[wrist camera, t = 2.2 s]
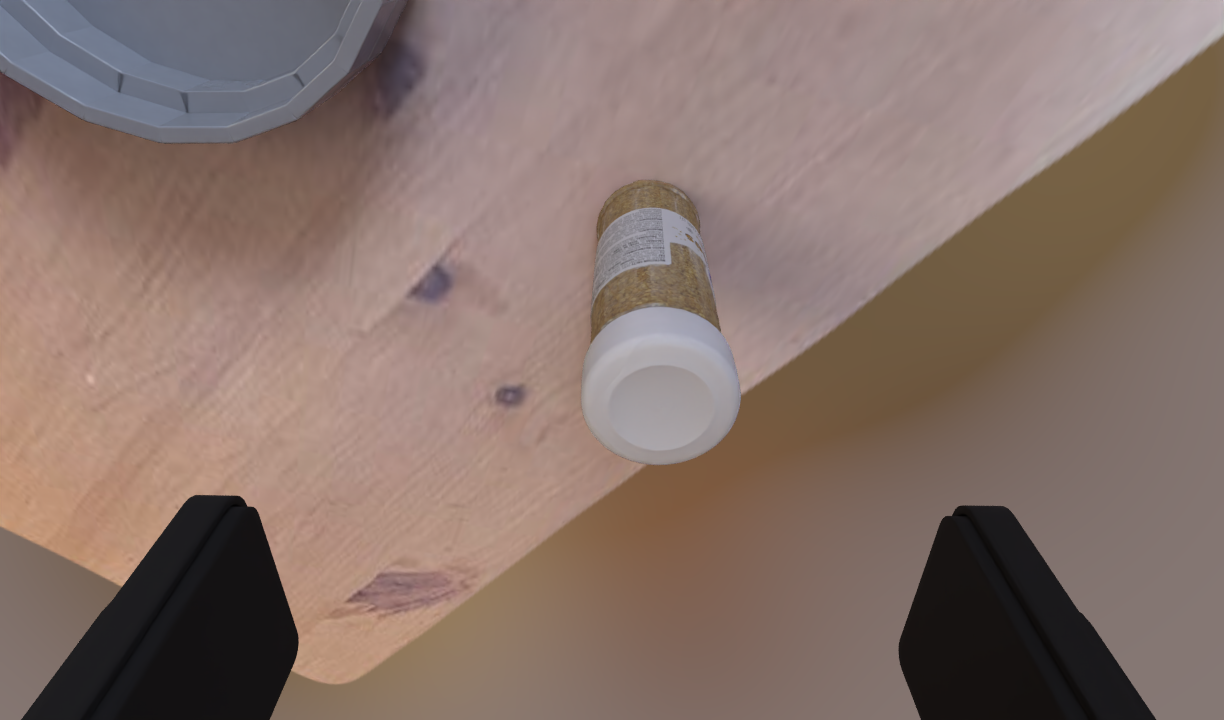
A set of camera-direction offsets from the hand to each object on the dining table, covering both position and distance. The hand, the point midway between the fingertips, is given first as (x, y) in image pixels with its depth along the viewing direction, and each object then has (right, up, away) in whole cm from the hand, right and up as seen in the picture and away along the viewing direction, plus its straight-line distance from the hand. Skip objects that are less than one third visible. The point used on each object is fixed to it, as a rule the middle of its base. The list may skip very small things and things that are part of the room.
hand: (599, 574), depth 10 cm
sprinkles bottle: (+2, +9, +21) cm, 23 cm away
